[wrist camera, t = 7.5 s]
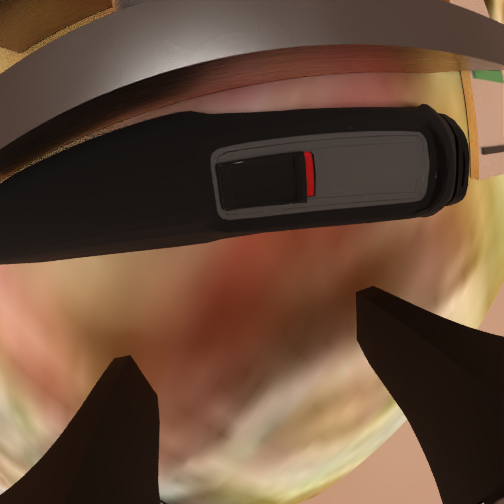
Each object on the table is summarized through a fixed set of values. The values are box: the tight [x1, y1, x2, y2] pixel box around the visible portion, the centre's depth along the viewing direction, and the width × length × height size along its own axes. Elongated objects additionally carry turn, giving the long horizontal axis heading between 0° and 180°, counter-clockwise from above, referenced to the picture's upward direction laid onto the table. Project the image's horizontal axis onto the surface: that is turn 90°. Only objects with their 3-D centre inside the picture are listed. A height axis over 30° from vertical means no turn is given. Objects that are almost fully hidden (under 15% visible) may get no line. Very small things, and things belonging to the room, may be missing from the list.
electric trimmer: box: [0, 104, 469, 265], centre depth 7 cm, size 4×16×3 cm, turn 95°
